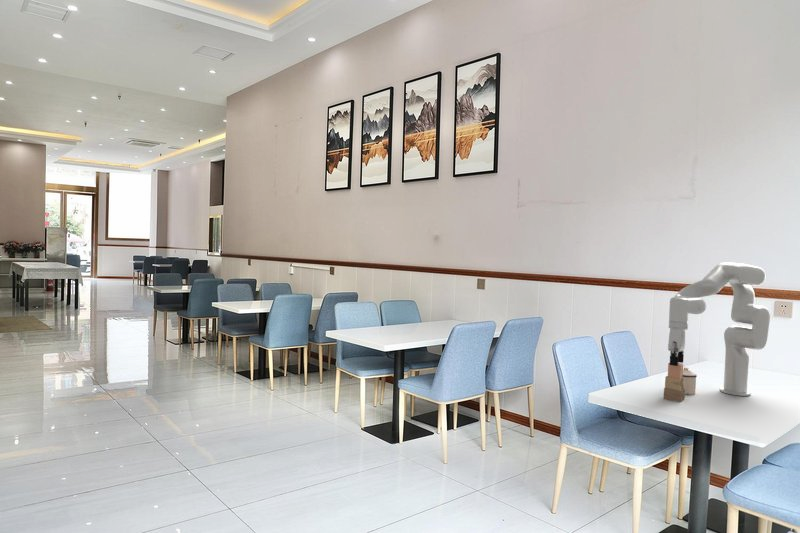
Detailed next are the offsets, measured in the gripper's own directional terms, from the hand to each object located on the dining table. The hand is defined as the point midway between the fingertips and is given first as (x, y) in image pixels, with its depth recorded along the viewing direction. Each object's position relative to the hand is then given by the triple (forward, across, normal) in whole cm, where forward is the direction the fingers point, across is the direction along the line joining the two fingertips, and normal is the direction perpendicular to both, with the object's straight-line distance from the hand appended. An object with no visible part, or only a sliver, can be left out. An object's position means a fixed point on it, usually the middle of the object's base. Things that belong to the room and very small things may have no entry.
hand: (676, 363), depth 244 cm
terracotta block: (+6, 0, 0) cm, 6 cm away
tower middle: (+11, +1, 0) cm, 11 cm away
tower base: (+16, +1, 0) cm, 16 cm away
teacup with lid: (+16, -18, -1) cm, 24 cm away
